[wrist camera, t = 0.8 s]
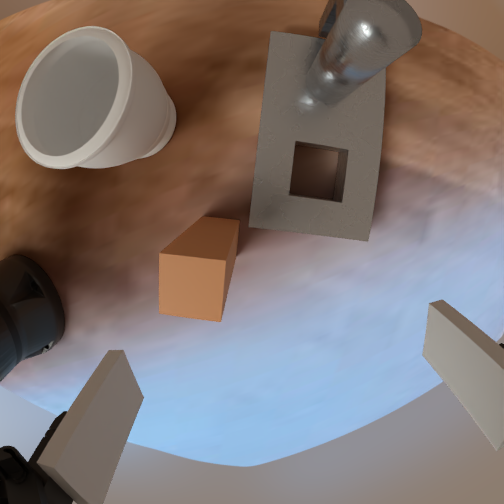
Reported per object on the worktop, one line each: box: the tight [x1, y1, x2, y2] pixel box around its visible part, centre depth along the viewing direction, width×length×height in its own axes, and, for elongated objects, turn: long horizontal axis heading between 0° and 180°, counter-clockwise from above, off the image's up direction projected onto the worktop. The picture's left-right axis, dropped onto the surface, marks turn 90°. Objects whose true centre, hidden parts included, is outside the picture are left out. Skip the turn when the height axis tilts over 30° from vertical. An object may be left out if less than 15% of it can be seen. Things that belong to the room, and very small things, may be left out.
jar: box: [15, 26, 176, 169], centre depth 22 cm, size 11×10×15 cm
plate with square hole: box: [249, 0, 422, 241], centre depth 20 cm, size 12×22×18 cm, turn 174°
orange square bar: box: [159, 216, 240, 322], centre depth 25 cm, size 4×4×15 cm
